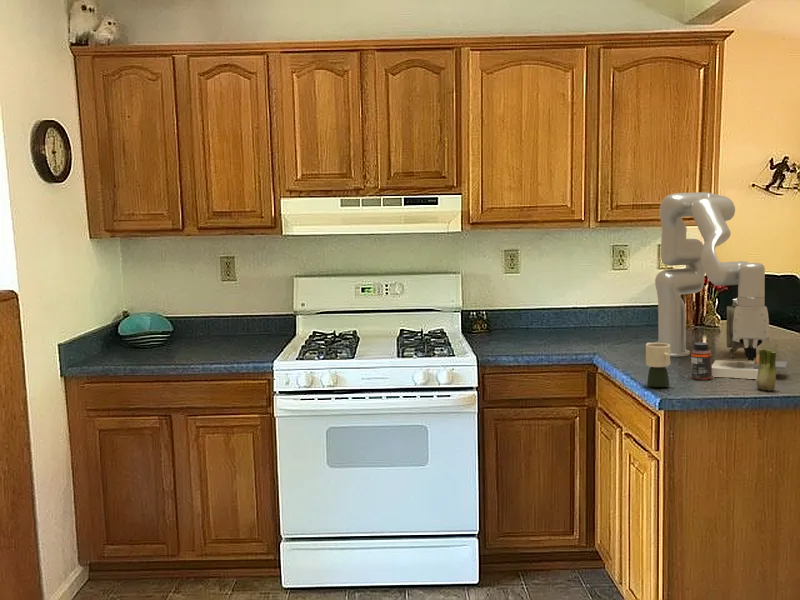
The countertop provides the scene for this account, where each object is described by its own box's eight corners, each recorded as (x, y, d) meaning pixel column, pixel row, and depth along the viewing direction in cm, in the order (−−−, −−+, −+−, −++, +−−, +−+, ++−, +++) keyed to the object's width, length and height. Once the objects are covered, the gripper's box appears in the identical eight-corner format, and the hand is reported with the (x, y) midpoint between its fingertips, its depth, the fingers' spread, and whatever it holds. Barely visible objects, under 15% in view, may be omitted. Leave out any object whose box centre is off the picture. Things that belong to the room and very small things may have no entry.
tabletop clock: (726, 352, 277) (726, 285, 274) (753, 352, 274) (753, 285, 271) (727, 359, 264) (727, 289, 261) (755, 360, 260) (756, 288, 258)
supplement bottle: (706, 376, 238) (706, 341, 237) (715, 380, 232) (715, 344, 231) (688, 377, 238) (688, 342, 237) (696, 381, 232) (696, 345, 231)
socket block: (709, 377, 237) (709, 367, 237) (715, 368, 249) (715, 360, 249) (765, 380, 229) (765, 371, 228) (769, 372, 241) (769, 362, 241)
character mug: (679, 389, 222) (679, 346, 221) (658, 391, 220) (658, 348, 219) (658, 382, 233) (657, 341, 231) (637, 384, 231) (637, 343, 230)
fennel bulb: (778, 392, 214) (778, 351, 213) (759, 392, 215) (760, 351, 214) (771, 388, 220) (772, 347, 218) (753, 388, 220) (754, 347, 219)
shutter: (753, 367, 233) (753, 357, 232) (755, 362, 240) (755, 352, 240) (785, 369, 228) (785, 359, 228) (787, 364, 236) (787, 354, 235)
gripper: (723, 303, 235) (723, 360, 237) (776, 304, 228) (776, 363, 230) (726, 300, 242) (726, 356, 244) (778, 301, 234) (778, 359, 236)
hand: (750, 359), depth 237 cm, fingers closed
